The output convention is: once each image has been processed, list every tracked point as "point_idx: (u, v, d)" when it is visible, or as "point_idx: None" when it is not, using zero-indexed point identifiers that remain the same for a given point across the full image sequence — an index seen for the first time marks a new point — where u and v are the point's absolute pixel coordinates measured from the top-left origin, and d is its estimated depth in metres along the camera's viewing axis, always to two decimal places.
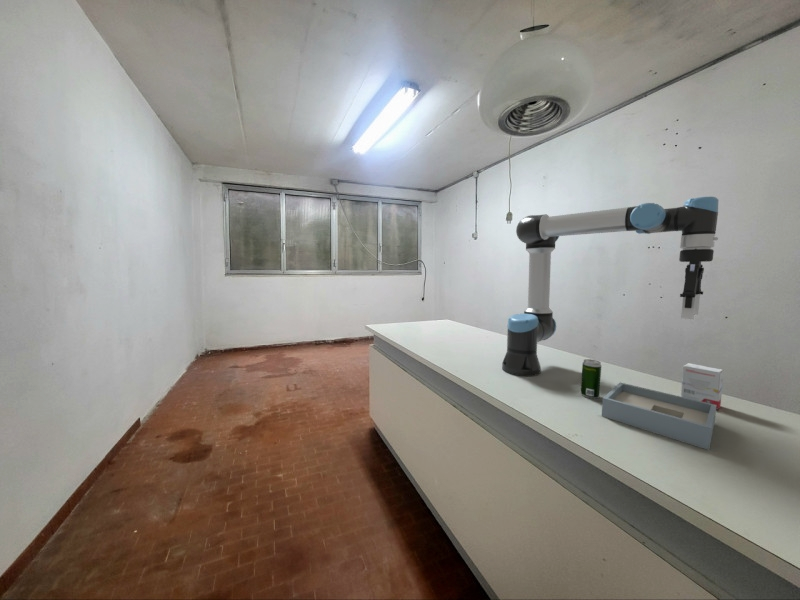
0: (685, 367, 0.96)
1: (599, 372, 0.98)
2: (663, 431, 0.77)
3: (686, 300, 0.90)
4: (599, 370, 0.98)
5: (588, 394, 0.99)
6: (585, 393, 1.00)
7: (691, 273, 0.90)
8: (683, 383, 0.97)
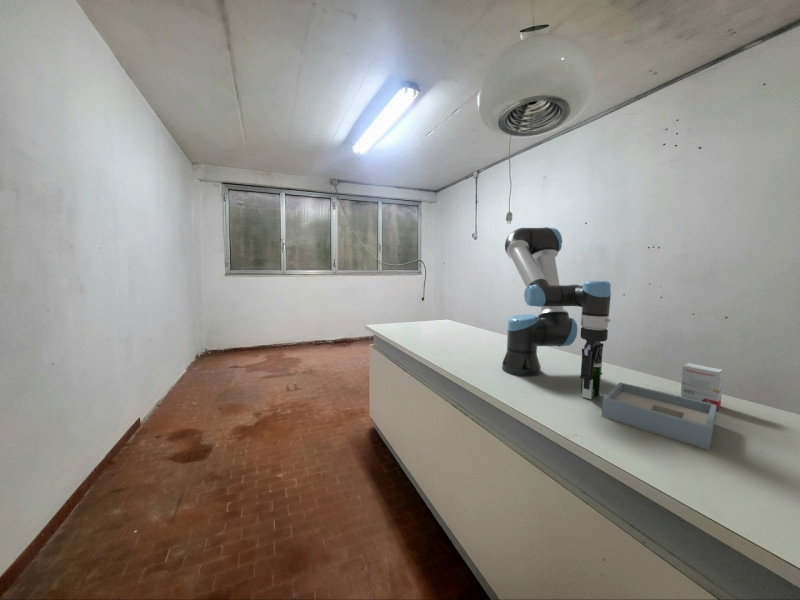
0: (685, 367, 0.96)
1: (599, 372, 0.98)
2: (663, 431, 0.77)
3: (584, 382, 0.98)
4: (599, 370, 0.98)
5: None
6: None
7: (585, 358, 0.96)
8: (683, 383, 0.97)
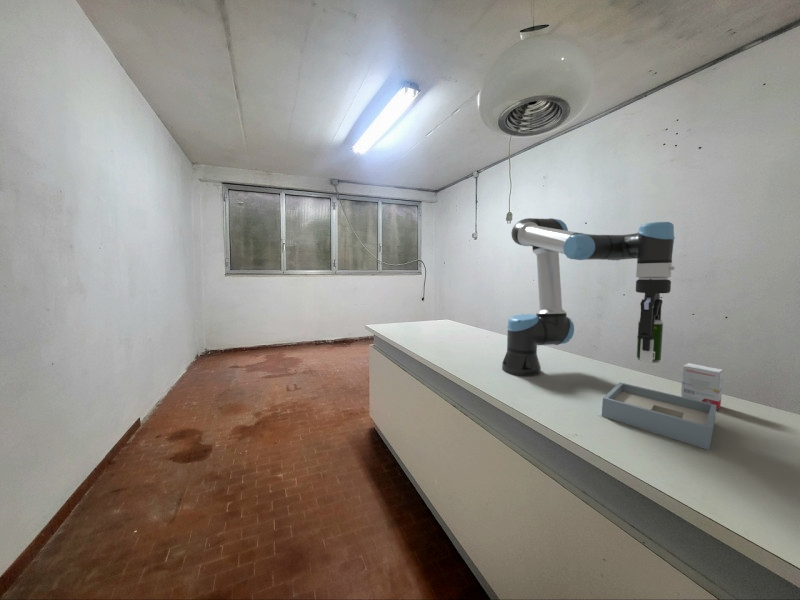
0: (685, 367, 0.96)
1: (661, 330, 0.83)
2: (663, 431, 0.77)
3: (643, 342, 0.83)
4: (661, 328, 0.83)
5: None
6: None
7: (646, 312, 0.81)
8: (683, 383, 0.97)
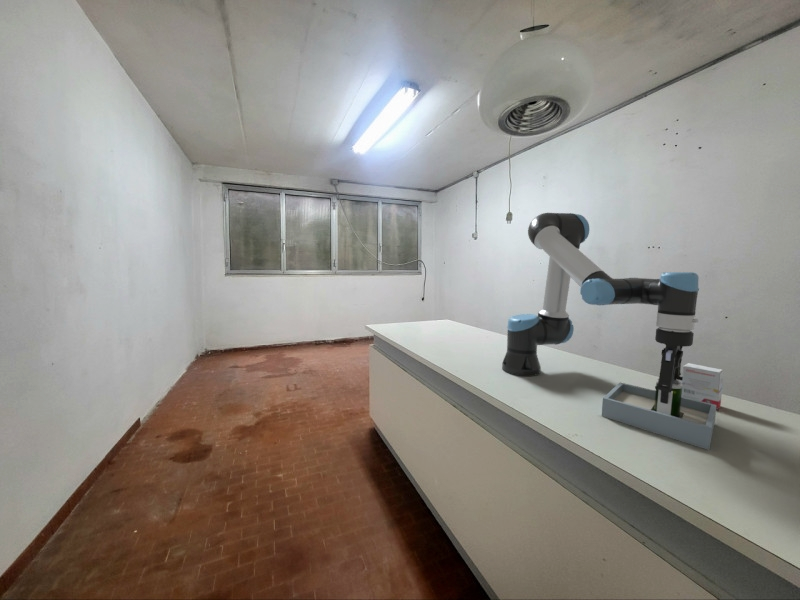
0: (685, 367, 0.96)
1: (680, 395, 0.80)
2: (663, 431, 0.77)
3: (662, 394, 0.78)
4: (680, 392, 0.80)
5: None
6: None
7: (667, 363, 0.77)
8: (683, 383, 0.97)
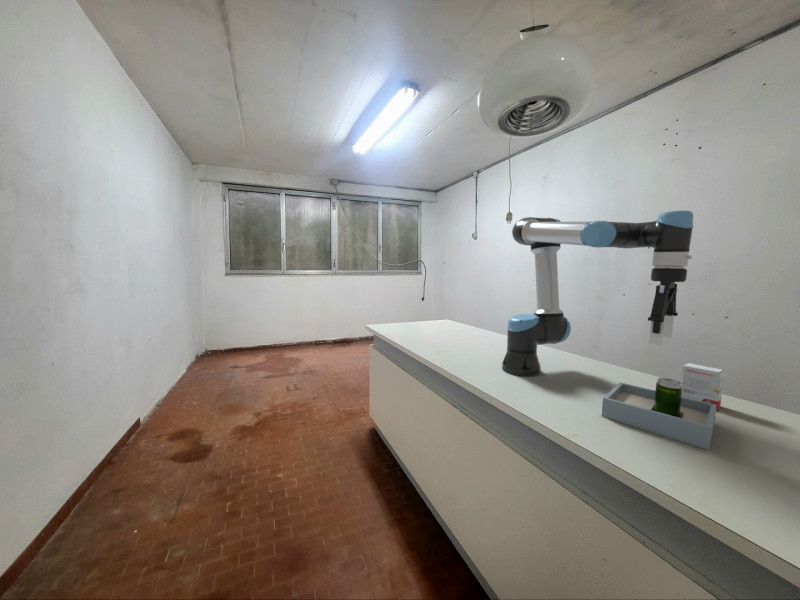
0: (685, 367, 0.96)
1: (680, 395, 0.80)
2: (663, 431, 0.77)
3: (654, 325, 0.82)
4: (680, 392, 0.80)
5: None
6: None
7: (660, 295, 0.81)
8: (683, 383, 0.97)
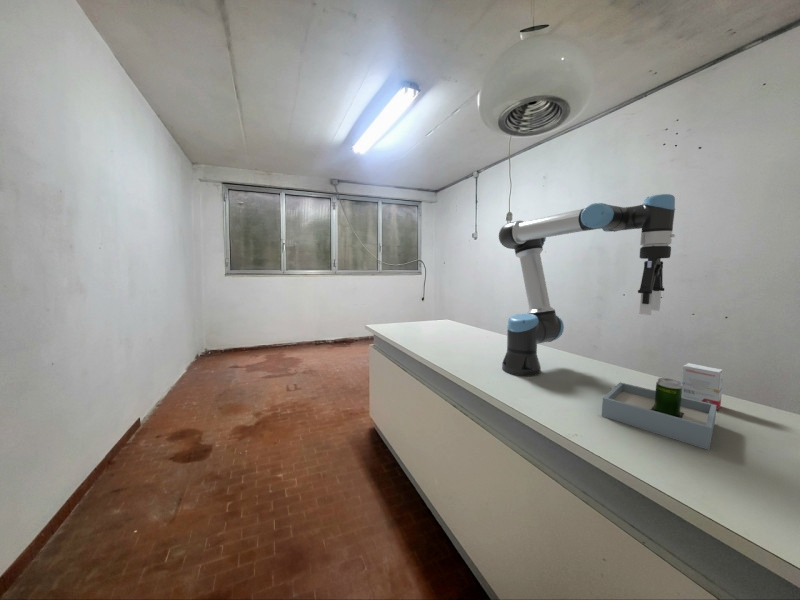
0: (685, 367, 0.96)
1: (680, 395, 0.80)
2: (663, 431, 0.77)
3: (643, 296, 0.91)
4: (680, 392, 0.80)
5: None
6: None
7: (648, 269, 0.91)
8: (683, 383, 0.97)
